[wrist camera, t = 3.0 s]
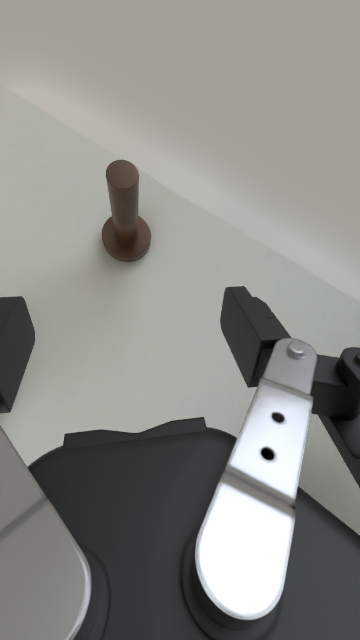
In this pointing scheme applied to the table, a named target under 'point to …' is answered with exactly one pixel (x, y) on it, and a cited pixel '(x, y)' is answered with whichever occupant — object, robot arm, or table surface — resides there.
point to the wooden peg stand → (124, 214)
